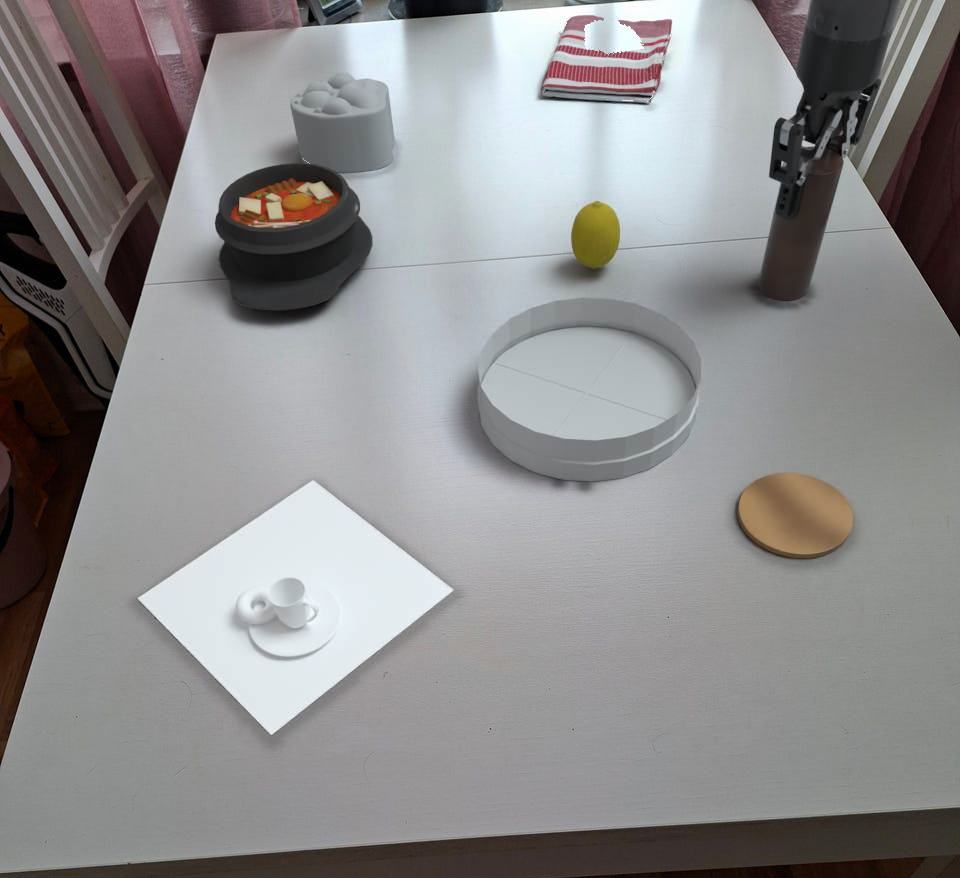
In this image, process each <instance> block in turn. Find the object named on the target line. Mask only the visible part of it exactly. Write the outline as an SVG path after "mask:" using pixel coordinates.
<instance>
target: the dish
mask: <svg viewBox="0 0 960 878" xmlns="http://www.w3.org/2000/svg"><path fill="white" fill-rule="evenodd" d="M477 378H478V383H477V384H478V385H477V388H476V395H477V404H478V412H479V419H480V424H481V428H482V430H483V431H484V433H485V435H486V436H487V438H488V440H489V441H490V443H491V444H492V446H493V447H494V448H496V449H497V450H498V451H499V452H500V453H501V454H502V455H503V456H505V457H506V458H507V459H508V460H509V461H511V462H513V463H515V464H516V465H518V466H521V467H523V468H525V469H526V470H529V471H530V472H533V473H535V474H539V475H542V476H547V477H550V478H554V479H558V480H561V481H574V482H575V481H576V482H592V483H593V482H601V481H610V480H617V479H624V478H627V477H630V476H633V475H635V474H638V473H642V472H645V471H647V470H650V469H652V468H654V467H656V466H657V465H658V464H660V463H662V462H663V461H665V460H666V459H668V458H669V457H671V456H673V455H674V454H675V452H676V451H677V450H679V448H680V447H681V446H682V445H683V444H684V443H685V442H686V441H687V440H688V438H689V435H690V433H691V431H692V428H693V425H694V423H695V421H696V417H697V411H698V407H699V403H700V384H701V382H702V381H701V380H702V359H701V356H700V354H699V352H698V349H697V346H696V345H695V342H694V341H693V340H692V338H691V337H690V336H689V335H688V333H686V332H685V330H684V329H682V328H681V326H680V325H678V324H677V323H676V322H673V320H671V319H670V318H668V317H666V316H664V315H663V314H662V313H660V312H658V311H656V310H653V309H650V308H647V307H645V306H643V305H640V304H637V303H635V302H629V301H623V300H618V299H613V298H603V297H577V298H568V299H560V300H554V301H553V300H552V301H550V302H548V303H547V302H546V303H544V304H540V305H536V306H533V307H530V308H528V309H526V310H525V311H522V312H520V313H518V314H516V315H515V316H512V317H511V318H509V319H507V320H506V321H505V322H504V323H502V325H500V326H499V327H498V328H497V329H496V330H494V331H493V332H492V333H491V335H490V336H489V337H488V339H487V341H486V343H484V345H483V347H482V348H481V350H480V355H479V360H478V364H477Z"/></svg>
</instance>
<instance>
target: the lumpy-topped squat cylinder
mask: <svg viewBox="0 0 960 878" xmlns="http://www.w3.org/2000/svg"><path fill="white" fill-rule="evenodd" d="M389 92H390V90H389V86H388V85H387V84H386V83H385V82H383V81H380V80H376V79H373V78H360V79H355V78H354V76H353V75H352V74H350V73H348V72H345V71H340V72H337V73H335V74H334V75H332V76H331V77H329V79H328V80H327V81H325V80H315V81H313V82H310V83H309V85H307V87H306V88H305V89H304V90H301V91H300V92H298V93H297V94H295V95H294V96H293V97H292V98H291V99H290V104H289V107H290V111H291V115H292V121H293V125H294V130H295V135H296V139H297V144H298V149H299V153H300V158H301V161H302V163H307V162H309V163H310V164H316V165H320V166H324V167H327V168H329V169H332V170H334V171H336V172H337V173H339V174H341V173H343V174H344V173H359V172H367V171H368V172H369V171H376V170H380V169H383V168H385V167H388V166H389V165H391V164H392V162H394V152H393V150H394V148H395V144H396V141H395V140H396V139H395V138H396V137H395V130H394V122H393V116H392V106H391V99H390V98H391V97H390V93H389ZM301 156H302V157H301ZM302 158H304V160H306V161H307V162H306V161H304V160H303V159H302ZM309 163H307V164H309Z"/></svg>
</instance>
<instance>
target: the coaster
mask: <svg viewBox="0 0 960 878" xmlns="http://www.w3.org/2000/svg"><path fill="white" fill-rule="evenodd" d="M737 519H738V522H739V524H740V526H741V529H742V530H743V532H744V533H745V535H746V536H747V537H748V538H750V540H752V542H754V543H755V544H756V545H758V546H759V547H761V548H763V549H764V550H766V551H768V552H771V553H773V554H776V555H779V556H783V557H786V558H793V559H812V558H818V557H822V556H825V555H829V554H830V553H833V552H834V551H836V550H838V549H839V548H840V547H841V546H842V545H844V543H846V542H847V540H848V538H849V536H850V534H851V532H852V529H853V527H854V526H853V525H854V513H853V510H852V506H851V505H850V503H849V501H848V500H847V498H846V497H845V496H844V494H842V493H841V491H839V490H838V489H837V488H835V486H833V485H831V484H830V483H828V482H826V481H825V480H822V479H820V478H817V477H815V476H811V475H808V474H803V473H796V472H779V473H772V474H768V475H765V476H763V477H760V478H757V479H756V480H754V481H752V483H750V484H749V485H748V486H747V487H746V488H745V489H744V491H742V493H741V495H740V498H739V501H738V504H737Z"/></svg>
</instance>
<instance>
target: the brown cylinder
mask: <svg viewBox="0 0 960 878" xmlns="http://www.w3.org/2000/svg"><path fill="white" fill-rule="evenodd" d="M805 147H806V148H809V149H812V148H814V146H805ZM803 161H804V158H803V157H802V156H800V161H799V168H798V170H800V168H801V165H802V163H803ZM844 164H845V163H844V158H842V157H841V156H840V155H839V154H838V153H836V152H835V151H833V150H830V149H827V148H825V149H824V151H823V153H822V155H821V158H820V159H819V160H818V161H815V162H813V164H812V167H811V169H810V171H809V173H808V176H807V178H806V180H805V182H804V183H805V186H804V190H803V194H802V198H801V202H800V206H799V210H798V214H797V216H796V217H795V218H793V219H792V220H787V219H785V218H783V217H781V216H778V215H777V214H776V211H775V210H776V205H777V200H778V196H779V191H780V187H781V182H779V188H778V191H777V196H776V201H775V205H774V209H773V214H772V218H771V223H770V226H769V227H770V228H769V233H768V237H767V241H766V246H765V250H764V255H763V258H762V263H761V269H760V272H759V278H758V282H757V287H758V289H759V291H760V292H761V293H762V294H763V295H765V296H766V297H768V298H770V299H773V300H777V301H785V302H787V301H794V300H795V301H796V300H799V299H801V298H803V297H805V296H806V295H807V294H808V293H809V291H810V287H811V283H812V280H813V276H814V272H815V269H816V265H817V262H818V258H819V255H820V250H821V247H822V244H823V240H824V236H825V233H826V230H827V226H828V222H829V218H830V215H831V211H832V207H833V204H834V200H835V197H836V193H837V189H838V185H839V181H840V179H841V175H842V171H843V167H844Z"/></svg>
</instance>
